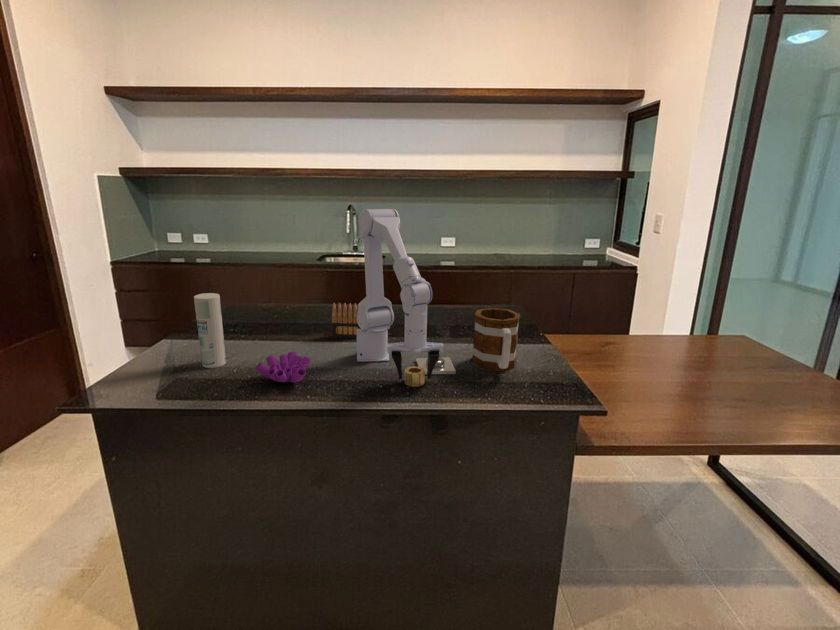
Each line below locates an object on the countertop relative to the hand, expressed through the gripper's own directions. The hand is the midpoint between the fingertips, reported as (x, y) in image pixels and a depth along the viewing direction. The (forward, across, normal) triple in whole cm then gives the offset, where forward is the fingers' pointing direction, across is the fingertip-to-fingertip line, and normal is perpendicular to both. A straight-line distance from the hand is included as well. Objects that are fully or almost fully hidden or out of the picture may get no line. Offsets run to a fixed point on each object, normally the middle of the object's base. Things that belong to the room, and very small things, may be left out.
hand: (414, 377), depth 124 cm
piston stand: (+2, +7, +10) cm, 12 cm away
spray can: (+2, -56, +16) cm, 58 cm away
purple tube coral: (+2, -34, +4) cm, 34 cm away
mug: (+2, +25, +10) cm, 27 cm away
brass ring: (+2, 0, 0) cm, 2 cm away
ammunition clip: (+2, -19, +38) cm, 43 cm away
